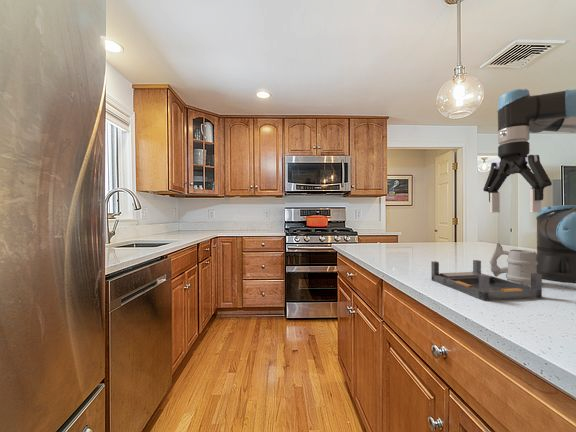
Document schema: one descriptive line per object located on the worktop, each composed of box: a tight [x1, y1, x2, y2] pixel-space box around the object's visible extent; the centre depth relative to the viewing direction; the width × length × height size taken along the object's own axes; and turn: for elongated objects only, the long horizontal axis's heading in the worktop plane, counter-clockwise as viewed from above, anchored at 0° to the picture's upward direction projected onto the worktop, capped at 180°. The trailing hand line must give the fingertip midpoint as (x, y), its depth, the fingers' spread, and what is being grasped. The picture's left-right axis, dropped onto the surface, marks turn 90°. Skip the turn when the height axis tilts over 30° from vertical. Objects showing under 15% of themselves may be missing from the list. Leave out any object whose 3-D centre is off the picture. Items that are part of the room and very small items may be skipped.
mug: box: [489, 242, 538, 287], centre depth 86 cm, size 8×12×12 cm, turn 51°
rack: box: [430, 259, 543, 302], centre depth 80 cm, size 16×21×6 cm
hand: (513, 212), depth 86 cm, fingers open, 13 cm apart
